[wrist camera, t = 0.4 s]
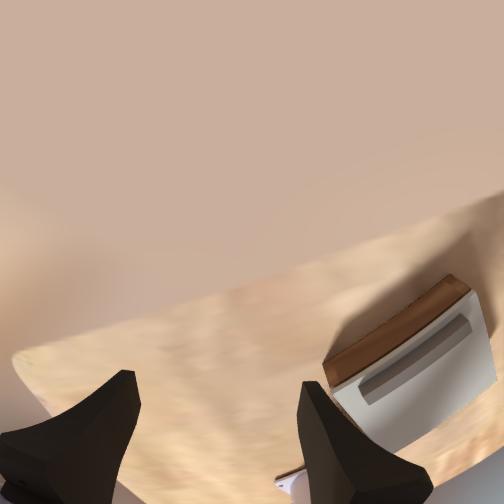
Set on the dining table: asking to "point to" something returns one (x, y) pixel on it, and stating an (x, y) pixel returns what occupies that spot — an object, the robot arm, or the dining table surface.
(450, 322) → the lid
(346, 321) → the dining table surface
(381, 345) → the box
